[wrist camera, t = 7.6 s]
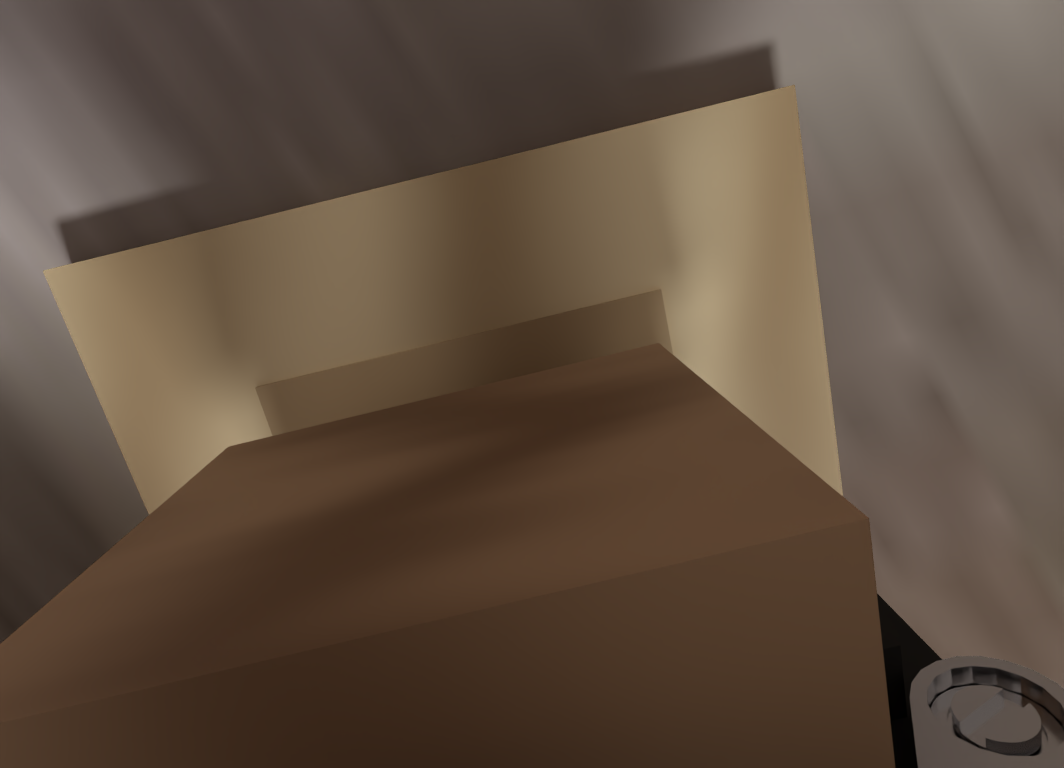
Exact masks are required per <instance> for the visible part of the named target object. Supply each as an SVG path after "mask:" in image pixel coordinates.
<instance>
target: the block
mask: <svg viewBox="0 0 1064 768" xmlns="http://www.w3.org/2000/svg"><path fill="white" fill-rule="evenodd" d="M0 768H895V760H894V751H893V741H892V732H891V722H890V713H889V703H888V694H887V684H886V675H885V665H884V656H883V646H882V637H881V628H880V618H879V609H878V599H877V590H876V580H875V571H874V561H873V552H872V542H871V533H870V523H869V518H868V517H867V516H866V515H864V514H863V513H862V512H861V511H860V510H858V509H857V508H856V507H855V506H854V505H852V504H851V503H850V502H849V501H848V500H846V499H845V498H844V497H843V496H842V495H840V494H839V493H838V492H837V491H836V490H834V489H833V488H832V487H831V486H830V485H828V484H827V483H826V482H825V481H824V480H822V479H821V478H820V477H819V476H818V475H816V474H815V473H814V472H813V471H812V470H810V469H809V468H808V467H807V466H806V465H804V464H803V463H802V462H801V461H800V460H798V459H797V458H796V457H795V456H794V455H793V454H791V453H790V452H789V451H788V450H787V449H785V448H784V447H783V446H782V445H781V444H779V443H778V442H777V441H776V440H775V439H773V438H772V437H771V436H770V435H769V434H767V433H766V432H765V431H764V430H763V429H761V428H760V427H759V426H758V425H757V424H755V423H754V422H753V421H752V420H751V419H749V418H748V417H747V416H746V415H745V414H743V413H742V412H741V411H740V410H739V409H737V408H736V407H735V406H734V405H733V404H731V403H730V402H729V401H728V400H727V399H725V398H724V397H723V396H722V395H721V394H719V393H718V392H717V391H716V390H715V389H713V388H712V387H711V386H710V385H709V384H707V383H706V382H705V381H704V380H703V379H701V378H700V377H699V376H698V375H697V374H695V373H694V372H693V371H692V370H691V369H689V368H688V367H687V366H686V365H685V364H683V363H682V362H681V361H680V360H679V359H677V358H676V357H675V356H674V355H673V354H671V353H670V352H669V351H668V350H667V349H666V348H664V347H663V346H662V345H661V344H660V343H656V344H652V345H648V346H644V347H640V348H636V349H631V350H627V351H623V352H619V353H615V354H611V355H607V356H602V357H598V358H594V359H590V360H586V361H582V362H578V363H573V364H569V365H565V366H561V367H557V368H553V369H548V370H544V371H540V372H536V373H532V374H528V375H524V376H519V377H515V378H511V379H507V380H503V381H499V382H495V383H490V384H486V385H482V386H478V387H474V388H470V389H465V390H461V391H457V392H453V393H449V394H445V395H441V396H436V397H432V398H428V399H424V400H420V401H416V402H411V403H407V404H403V405H399V406H395V407H391V408H387V409H382V410H378V411H374V412H370V413H366V414H362V415H358V416H353V417H349V418H345V419H341V420H337V421H333V422H328V423H324V424H320V425H316V426H312V427H308V428H304V429H299V430H295V431H291V432H287V433H283V434H279V435H274V436H270V437H266V438H262V439H258V440H254V441H250V442H245V443H241V444H237V445H233V446H229V447H227V448H226V449H225V450H224V451H223V452H222V453H220V454H219V455H218V456H217V457H216V458H215V459H213V460H212V461H211V462H210V463H209V464H208V465H206V466H205V467H204V468H203V469H202V470H201V471H200V472H198V473H197V474H196V475H195V476H194V477H193V478H191V479H190V480H189V481H188V482H187V483H186V484H185V485H183V486H182V487H181V488H180V489H179V490H178V491H176V492H175V493H174V494H173V495H172V496H171V497H169V498H168V499H167V500H166V501H165V502H164V503H163V504H161V505H160V506H159V507H158V508H157V509H156V510H154V511H153V512H152V513H151V514H150V515H149V516H148V517H146V518H145V519H144V520H143V521H142V522H141V523H139V524H138V525H137V526H136V527H135V528H134V529H133V530H131V531H130V532H129V533H128V534H127V535H126V536H124V537H123V538H122V539H121V540H120V541H119V542H117V543H116V544H115V545H114V546H113V547H112V548H111V549H109V550H108V551H107V552H106V553H105V554H104V555H102V556H101V557H100V558H99V559H98V560H97V561H96V562H94V563H93V564H92V565H91V566H90V567H89V568H87V569H86V570H85V571H84V572H83V573H82V574H80V575H79V576H78V577H77V578H76V579H75V580H74V581H72V582H71V583H70V584H69V585H68V586H67V587H65V588H64V589H63V590H62V591H61V592H60V593H59V594H57V595H56V596H55V597H54V598H53V599H52V600H50V601H49V602H48V603H47V604H46V605H45V606H44V607H42V608H41V609H40V610H39V611H38V612H37V613H35V614H34V615H33V616H32V617H31V618H30V619H28V620H27V621H26V622H25V623H24V624H23V625H22V626H20V627H19V628H18V629H17V630H16V631H15V632H13V633H12V634H11V635H10V636H9V637H8V638H7V639H5V640H4V641H3V642H2V643H1V644H0Z"/></svg>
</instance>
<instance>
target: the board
mask: <svg viewBox="0 0 1064 768" xmlns="http://www.w3.org/2000/svg"><path fill="white" fill-rule="evenodd" d="M43 273H44V275H45V277H46V279H47V282H48V284H49V286H50V289H51V291H52V293H53V296H54V298H55V300H56V302H57V305H58V307H59V309H60V312H61V314H62V316H63V319H64V321H65V323H66V325H67V328H68V330H69V332H70V335H71V337H72V339H73V341H74V344H75V346H76V348H77V351H78V353H79V355H80V358H81V360H82V362H83V364H84V367H85V369H86V371H87V374H88V376H89V378H90V381H91V383H92V385H93V387H94V390H95V392H96V394H97V397H98V399H99V401H100V404H101V406H102V408H103V410H104V413H105V415H106V417H107V420H108V422H109V424H110V427H111V429H112V431H113V433H114V436H115V438H116V440H117V443H118V445H119V447H120V450H121V452H122V454H123V456H124V459H125V461H126V463H127V466H128V468H129V470H130V472H131V475H132V477H133V479H134V482H135V484H136V486H137V489H138V491H139V493H140V495H141V498H142V500H143V502H144V505H145V507H146V509H147V512H148V514H149V515H150V514H151V513H152V512H153V511H154V510H156V509H157V508H158V507H159V506H160V505H161V504H163V503H164V502H165V501H166V500H167V499H168V498H169V497H171V496H172V495H173V494H174V493H175V492H176V491H178V490H179V489H180V488H181V487H182V486H183V485H185V484H186V483H187V482H188V481H189V480H190V479H191V478H193V477H194V476H195V475H196V474H197V473H198V472H200V471H201V470H202V469H203V468H204V467H205V466H206V465H208V464H209V463H210V462H211V461H212V460H213V459H215V458H216V457H217V456H218V455H219V454H220V453H222V452H223V451H224V450H225V449H226V448H227V447H229V446H233V445H237V444H241V443H245V442H250V441H254V440H258V439H262V438H266V437H270V436H274V435H279V434H283V433H287V432H291V431H295V430H299V429H304V428H308V427H312V426H316V425H320V424H324V423H328V422H333V421H337V420H341V419H345V418H349V417H353V416H358V415H362V414H366V413H370V412H374V411H378V410H382V409H387V408H391V407H395V406H399V405H403V404H407V403H411V402H416V401H420V400H424V399H428V398H432V397H436V396H441V395H445V394H449V393H453V392H457V391H461V390H465V389H470V388H474V387H478V386H482V385H486V384H490V383H495V382H499V381H503V380H507V379H511V378H515V377H519V376H524V375H528V374H532V373H536V372H540V371H544V370H548V369H553V368H557V367H561V366H565V365H569V364H573V363H578V362H582V361H586V360H590V359H594V358H598V357H602V356H607V355H611V354H615V353H619V352H623V351H627V350H631V349H636V348H640V347H644V346H648V345H652V344H656V343H660V344H661V345H662V346H663V347H664V348H666V349H667V350H668V351H669V352H670V353H671V354H673V355H674V356H675V357H676V358H677V359H679V360H680V361H681V362H682V363H683V364H685V365H686V366H687V367H688V368H689V369H691V370H692V371H693V372H694V373H695V374H697V375H698V376H699V377H700V378H701V379H703V380H704V381H705V382H706V383H707V384H709V385H710V386H711V387H712V388H713V389H715V390H716V391H717V392H718V393H719V394H721V395H722V396H723V397H724V398H725V399H727V400H728V401H729V402H730V403H731V404H733V405H734V406H735V407H736V408H737V409H739V410H740V411H741V412H742V413H743V414H745V415H746V416H747V417H748V418H749V419H751V420H752V421H753V422H754V423H755V424H757V425H758V426H759V427H760V428H761V429H763V430H764V431H765V432H766V433H767V434H769V435H770V436H771V437H772V438H773V439H775V440H776V441H777V442H778V443H779V444H781V445H782V446H783V447H784V448H785V449H787V450H788V451H789V452H790V453H791V454H793V455H794V456H795V457H796V458H797V459H798V460H800V461H801V462H802V463H803V464H804V465H806V466H807V467H808V468H809V469H810V470H812V471H813V472H814V473H815V474H816V475H818V476H819V477H820V478H821V479H822V480H824V481H825V482H826V483H827V484H828V485H830V486H831V487H832V488H833V489H834V490H836V491H837V492H838V493H839V494H840V495H842V496H843V492H842V484H841V475H840V467H839V458H838V450H837V441H836V433H835V424H834V416H833V407H832V398H831V390H830V381H829V373H828V364H827V356H826V347H825V339H824V330H823V322H822V313H821V305H820V296H819V288H818V279H817V271H816V262H815V254H814V245H813V237H812V228H811V219H810V211H809V202H808V194H807V185H806V177H805V168H804V160H803V151H802V143H801V134H800V126H799V117H798V109H797V100H796V92H795V85H792V86H788V87H784V88H779V89H775V90H771V91H767V92H763V93H759V94H755V95H751V96H747V97H743V98H739V99H735V100H731V101H727V102H723V103H719V104H715V105H711V106H707V107H703V108H699V109H695V110H691V111H687V112H682V113H678V114H674V115H670V116H666V117H662V118H658V119H654V120H650V121H646V122H642V123H638V124H634V125H630V126H626V127H622V128H618V129H614V130H610V131H606V132H602V133H598V134H594V135H590V136H586V137H581V138H577V139H573V140H569V141H565V142H561V143H557V144H553V145H549V146H545V147H541V148H537V149H533V150H529V151H525V152H521V153H517V154H513V155H509V156H505V157H501V158H497V159H493V160H489V161H485V162H480V163H476V164H472V165H468V166H464V167H460V168H456V169H452V170H448V171H444V172H440V173H436V174H432V175H428V176H424V177H420V178H416V179H412V180H408V181H404V182H400V183H396V184H392V185H388V186H384V187H379V188H375V189H371V190H367V191H363V192H359V193H355V194H351V195H347V196H343V197H339V198H335V199H331V200H327V201H323V202H319V203H315V204H311V205H307V206H303V207H299V208H295V209H291V210H287V211H283V212H278V213H274V214H270V215H266V216H262V217H258V218H254V219H250V220H246V221H242V222H238V223H234V224H230V225H226V226H222V227H218V228H214V229H210V230H206V231H202V232H198V233H194V234H190V235H186V236H182V237H177V238H173V239H169V240H165V241H161V242H157V243H153V244H149V245H145V246H141V247H137V248H133V249H129V250H125V251H121V252H117V253H113V254H109V255H105V256H101V257H97V258H93V259H89V260H85V261H80V262H76V263H72V264H68V265H64V266H60V267H56V268H52V269H48V270H44V271H43Z"/></svg>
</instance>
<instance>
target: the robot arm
mask: <svg viewBox="0 0 1064 768" xmlns="http://www.w3.org/2000/svg"><path fill="white" fill-rule="evenodd" d="M877 599H878V609H879V618H880V628H881V637H882V646H883V656H884V665H885V675H886V684H887V694H888V703H889V713H890V722H891V732H892V741H893V751H894V760H895V768H1064V689H1063V688H1062V687H1061V686H1060V685H1059V684H1057V683H1056V682H1054V681H1052V680H1050V679H1049V678H1047V677H1045V676H1043V675H1041V674H1040V673H1038V672H1036V671H1034V670H1032V669H1029V668H1026V667H1023V666H1021V665H1018V664H1015V663H1012V662H1009V661H1005V660H1000V659H994V658H988V657H982V656H956V657H952V658H947V659H943V660H942V659H941V658H940V657H939V656H938V655H937V654H936V653H935V652H934V651H933V650H932V649H931V648H930V647H929V646H928V645H927V644H926V643H925V642H924V641H923V640H922V639H921V638H920V637H919V636H918V635H917V634H916V633H915V632H914V631H913V630H912V629H911V628H910V626H909V625H908V624H907V623H906V622H905V621H904V620H903V619H902V618H901V617H900V616H899V615H898V614H897V613H896V612H895V611H894V610H893V609H892V608H891V607H890V606H889V605H888V604H887V603H886V602H885V601H884V600H883V599H882V598H881V597H880V596H879V595H878V594H877Z"/></svg>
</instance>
